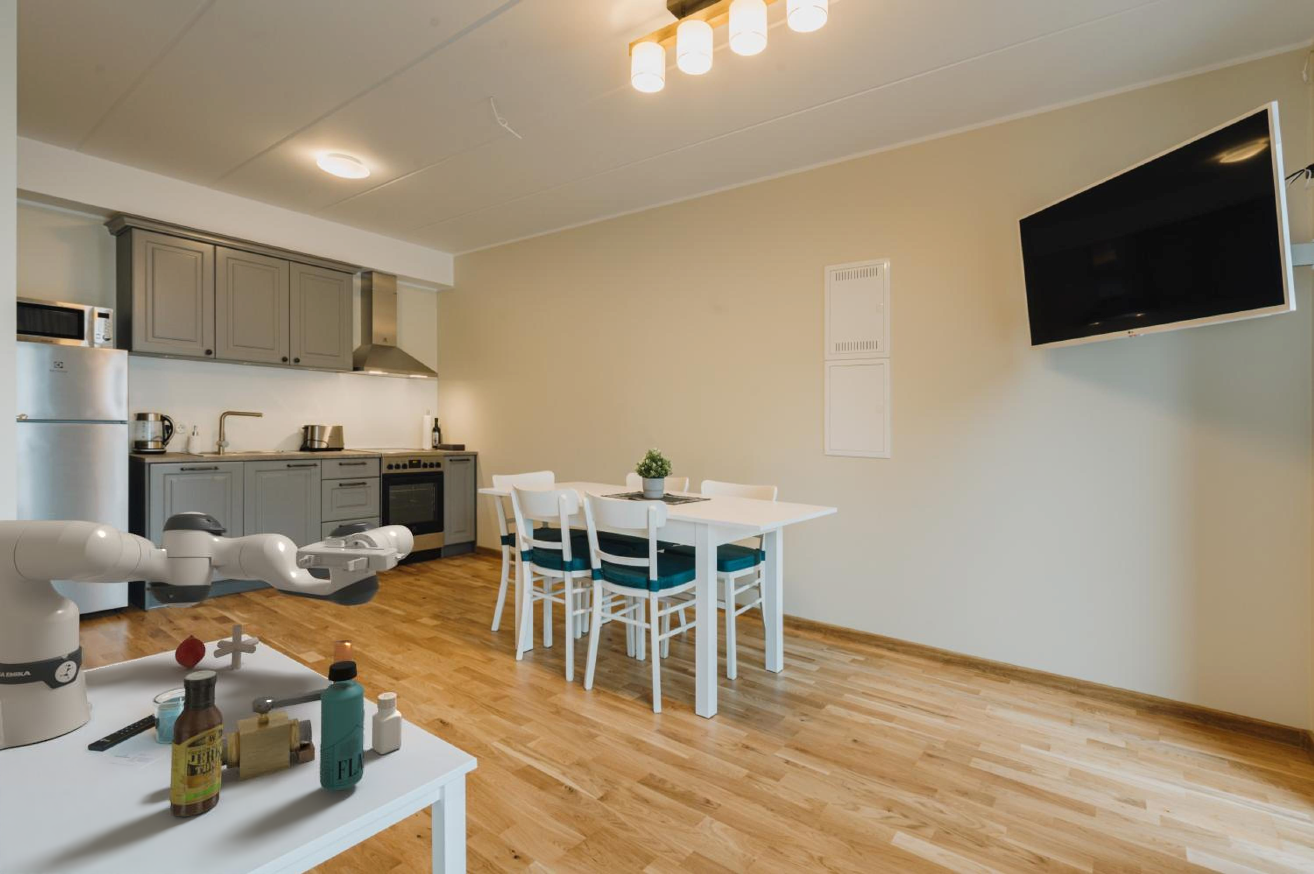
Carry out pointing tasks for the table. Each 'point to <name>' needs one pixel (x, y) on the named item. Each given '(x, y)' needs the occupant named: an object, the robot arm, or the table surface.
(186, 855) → the table surface
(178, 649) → the onion
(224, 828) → the table surface
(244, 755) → the ball valve
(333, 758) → the beverage bottle
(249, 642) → the pipe connector
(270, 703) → the crank handle
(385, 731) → the pepper shaker
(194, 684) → the sauce bottle
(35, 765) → the table surface
